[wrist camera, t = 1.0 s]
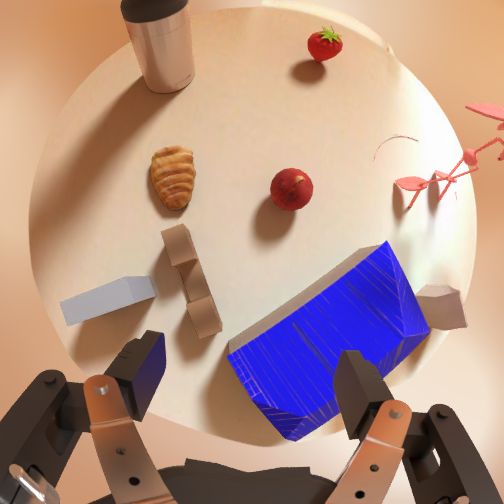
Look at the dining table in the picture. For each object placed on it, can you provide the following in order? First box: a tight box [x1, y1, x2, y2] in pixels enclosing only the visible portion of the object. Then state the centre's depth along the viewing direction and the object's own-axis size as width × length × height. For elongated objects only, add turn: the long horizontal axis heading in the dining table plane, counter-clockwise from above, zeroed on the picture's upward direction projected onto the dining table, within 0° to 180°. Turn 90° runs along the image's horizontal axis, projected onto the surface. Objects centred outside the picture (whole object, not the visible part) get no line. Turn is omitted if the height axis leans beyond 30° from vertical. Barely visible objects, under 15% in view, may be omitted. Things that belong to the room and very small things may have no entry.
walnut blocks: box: [161, 224, 222, 339], centre depth 35 cm, size 14×3×6 cm, turn 20°
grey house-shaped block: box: [415, 285, 468, 330], centre depth 36 cm, size 4×7×10 cm, turn 28°
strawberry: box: [308, 27, 343, 62], centre depth 38 cm, size 6×8×10 cm
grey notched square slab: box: [60, 276, 156, 326], centre depth 31 cm, size 10×3×10 cm, turn 110°
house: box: [226, 241, 430, 442], centre depth 31 cm, size 25×16×16 cm, turn 123°
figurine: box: [373, 103, 504, 208], centre depth 26 cm, size 15×26×35 cm, turn 105°
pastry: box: [150, 146, 196, 210], centre depth 37 cm, size 9×7×4 cm
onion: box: [270, 168, 313, 211], centre depth 36 cm, size 6×6×8 cm
